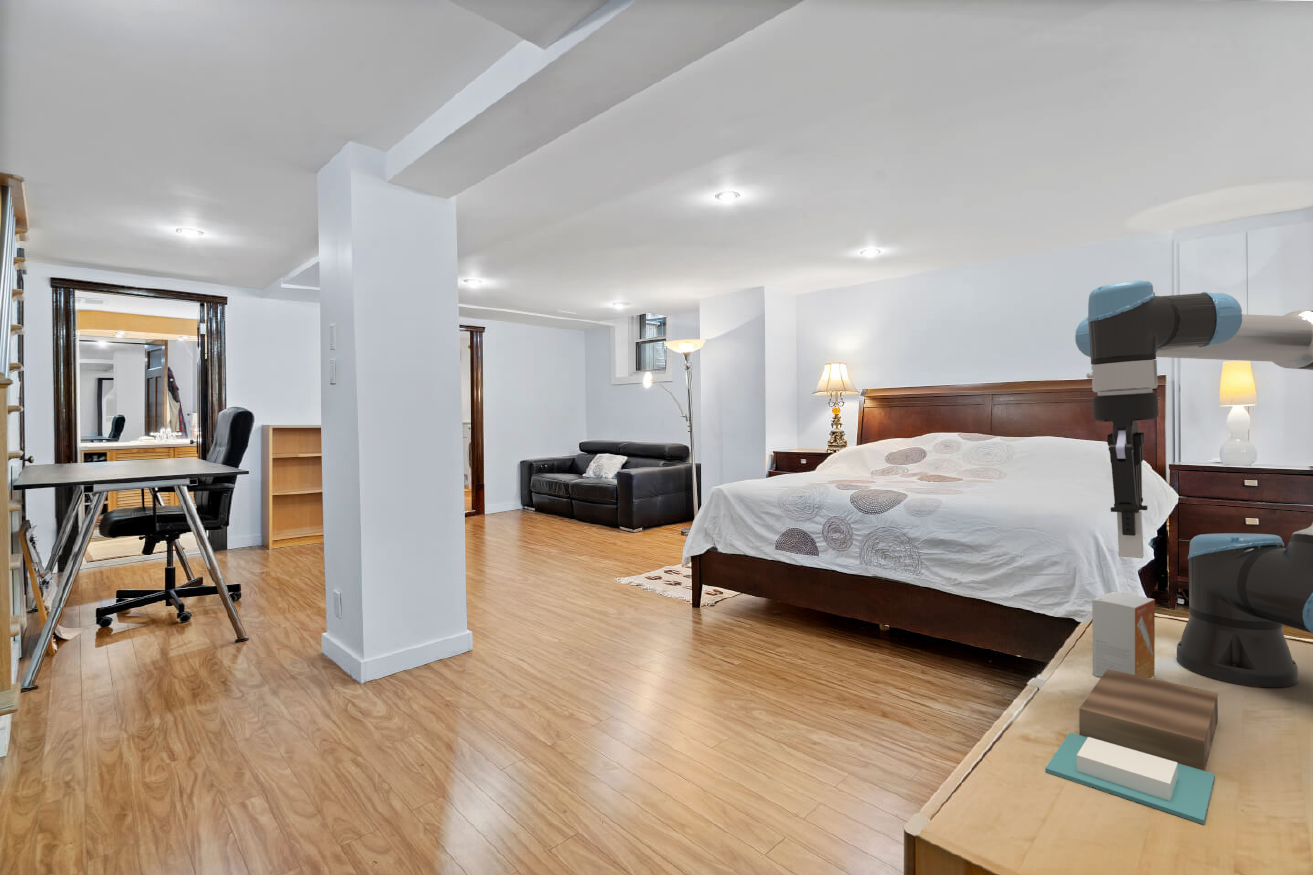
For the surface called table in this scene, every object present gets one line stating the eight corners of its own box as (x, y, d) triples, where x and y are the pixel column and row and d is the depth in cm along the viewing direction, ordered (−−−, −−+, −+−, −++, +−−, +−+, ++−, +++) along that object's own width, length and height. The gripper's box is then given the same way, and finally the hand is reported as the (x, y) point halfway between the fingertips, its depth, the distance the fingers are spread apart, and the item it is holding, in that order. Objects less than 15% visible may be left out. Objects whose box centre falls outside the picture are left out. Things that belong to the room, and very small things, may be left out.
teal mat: (1069, 735, 87) (1069, 732, 87) (1214, 777, 76) (1214, 773, 76) (1045, 771, 79) (1045, 767, 79) (1204, 824, 68) (1204, 820, 68)
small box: (1136, 688, 101) (1135, 607, 101) (1091, 675, 106) (1090, 598, 106) (1156, 675, 106) (1155, 598, 105) (1112, 663, 111) (1111, 590, 110)
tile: (1076, 754, 78) (1076, 770, 78) (1170, 783, 71) (1170, 801, 71) (1088, 736, 82) (1088, 751, 82) (1177, 762, 76) (1177, 778, 76)
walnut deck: (1107, 693, 99) (1107, 668, 99) (1217, 720, 90) (1217, 692, 90) (1079, 736, 87) (1079, 708, 87) (1204, 772, 77) (1204, 740, 77)
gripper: (1099, 393, 98) (1106, 545, 98) (1084, 395, 88) (1091, 563, 89) (1161, 390, 92) (1168, 549, 93) (1152, 391, 83) (1160, 569, 84)
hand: (1131, 556), depth 91 cm, fingers closed
